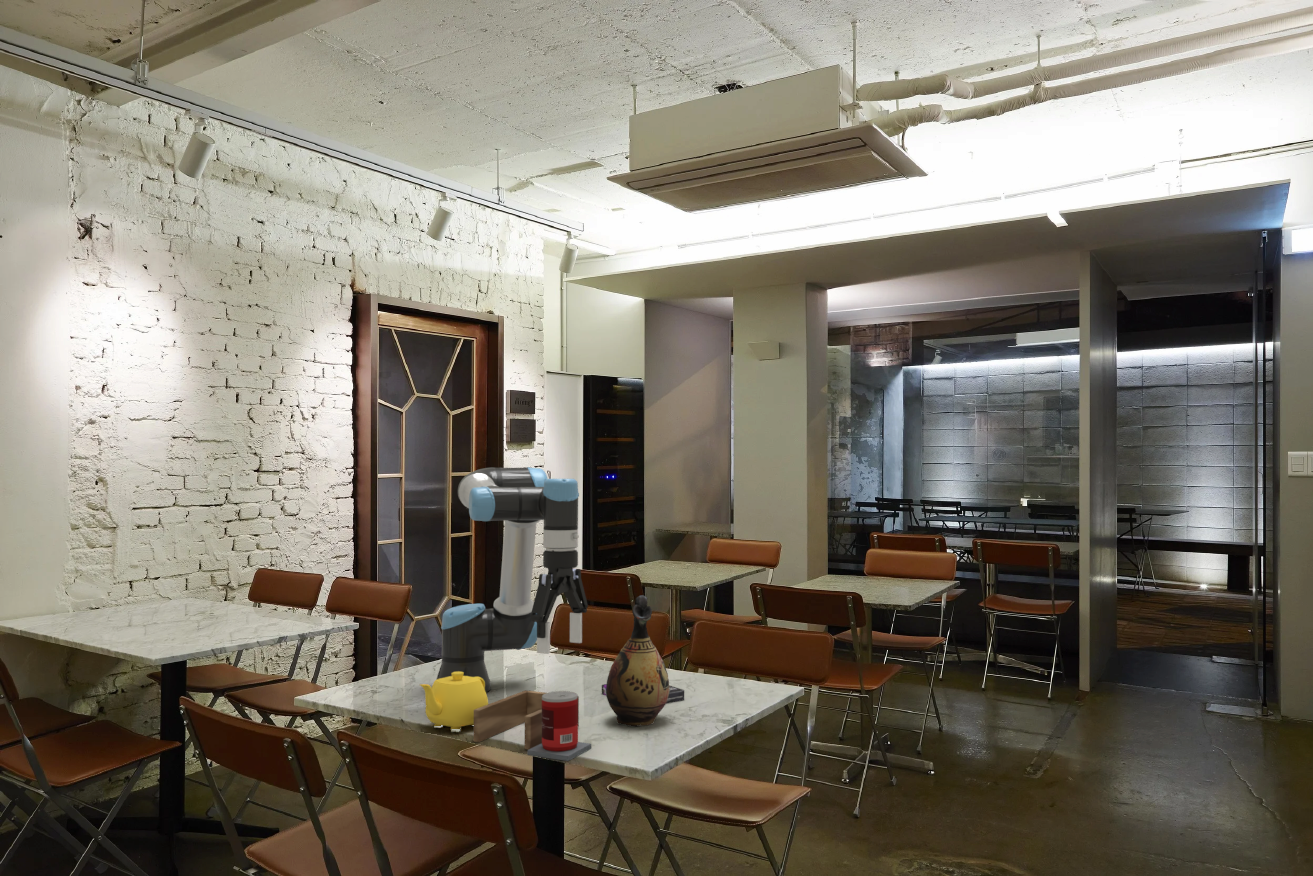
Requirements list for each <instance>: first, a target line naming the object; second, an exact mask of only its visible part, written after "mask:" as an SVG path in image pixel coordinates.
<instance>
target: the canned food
mask: <svg viewBox="0 0 1313 876" xmlns="http://www.w3.org/2000/svg"><path fill="white" fill-rule="evenodd" d="M545 693H546V694H544V695H542V745H543V748H544V749H545V750H548V751H567V750H571V749H574V748H575V747H576V746H577V743H578V742H579V726H578V696H579V695H578V693H577V692H576V691H575V692H574V691H571V690H570V691H569V690H567V691H566V690H559V691H558V690H557V691H556V690H555V691H550V692H545Z"/></svg>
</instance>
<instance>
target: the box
mask: <svg viewBox="0 0 1313 876" xmlns="http://www.w3.org/2000/svg"><path fill="white" fill-rule="evenodd" d="M606 684H607V683H604V684H602V685H601V695H603V696H606ZM669 687H670V688H669V695H668V699H667V703H666V704H665V705H667V704H671V703H677V702H681V701H685V690H684V689H682V688H679V687H675V686H673V685H670V684H669Z"/></svg>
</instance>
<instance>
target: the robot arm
mask: <svg viewBox="0 0 1313 876" xmlns="http://www.w3.org/2000/svg"><path fill="white" fill-rule="evenodd" d="M578 483H579V482H578V480H576V479H575V478H548V475H547V473H546V471H545V470H544V469H543V468H539V467H538V468H537V467H529V466H528V467H485V468H480V469H477V470H473V471H471V472H469V473H467V474H466V475H465V476H464V477H463V478H462V479H461V480H460V482H459V484H458V487H457V496H458V499H459V501H460V502H461V504H462V505H463V506H464V507H466V508H467V509H468V514H469V517H470V519H471V520H472V521H478V522H480V521H482V522H491V521H492V522H493V521H494V522H495V521H496V522H497V521H504V529H503V542H502V543H503V544H502V557H501V559H502V561H501V571H500V585H499V587H500V588H499V596H498V597H497V598H496V599H495V600H494V601H493V608H486V606H485V604H484V603H469V604H461V605H456V606H453V607H451V608H447V609H446V610H445V611H444V612H443V613H442V620H441V621H442V622H441V627H440V628H441V664H440V667H439V671H438V673H437V677H436V679H435V680H437V679H440V678H445V677H449V676H452V674H451V673H453V672H458V671H459V672H464V675H463V676H470V677H481V678H482V679H483V680H484V681H485V692H486V693H487V692H489V691H490V690H491V679H490V676H489V673H488V670H487V667H486V662H485V652H489V651H490V652H493V651H494V652H495V651H507V650H508V651H509V650H517V651H519V650H523V649H530V648H532V647H534V645H536V653H537V654H543V655H549V654H551V621H549V618H550V615H551V613H552V610H553V608H554V606H555V603H556V600H557V598H558V597H559V596H560V595H561V594H562V593H563V594H564V597H565V599H566V601H567V602H568V605H569V607H570V609H571V611H572V612H569V643H574V644H582V643H583V614H584V613H585V614H586V613H587V612H588V607H589V605H588V600H587V596H586V592H585V588H584V585H583V581H582V572H581V571H582V569H580V568H577V567H578V565H579V552H578V550H577V548H578V546H579V545H578V543H579V541H578V538H579V533H578V529H579V497H580V493H579V484H578ZM540 521H543V531H542V535H543V537H542V539H543V541H542V547H543V548H544V549H545V550H544V551H543V552H542V554H543V555H542V557H543V558H542V559H543V560H542V562H543V563H542V565H543V567H544V568H545V569H547V570H548V571H547V573H540V574H539V575H538V586H537V589H536V593H535V597H534V600H532V599H531V594H532V593H531V592H532V582H533V572H534V571H533V569H534V561H535V560H534V559H535V557H534V556H535V548H536V545H535V544H536V534H537V533H536V531H537V523H539V522H540Z"/></svg>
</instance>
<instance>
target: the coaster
mask: <svg viewBox="0 0 1313 876" xmlns="http://www.w3.org/2000/svg"><path fill="white" fill-rule="evenodd" d="M591 749H592V743H591V742H590V743H589V742H581V741H578V743H577V746H576V747H575V748H574V749H571V750H567V751H548V750H545V749H544V748H543V745H542V743H541V744H539V745H537V746H535V747H533V748H531V749H526V751H527V753H526V754H527V755H526V756H530V757H531V756H532V757H537V758H545V759H552V760H558V761H564V762H569V761H571V760H573V759H574V758H577V757H578V756H580V755H582V754H584V753H585V752H587V751H589V750H591Z"/></svg>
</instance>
